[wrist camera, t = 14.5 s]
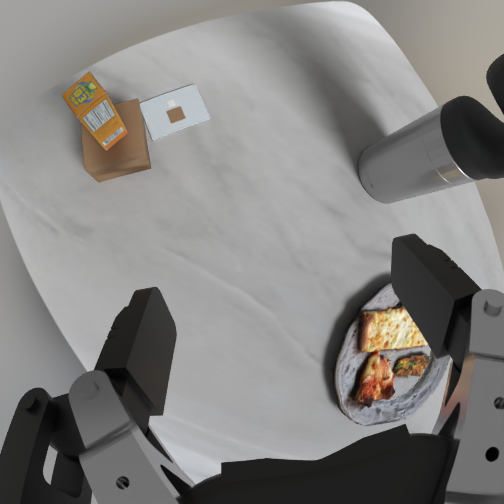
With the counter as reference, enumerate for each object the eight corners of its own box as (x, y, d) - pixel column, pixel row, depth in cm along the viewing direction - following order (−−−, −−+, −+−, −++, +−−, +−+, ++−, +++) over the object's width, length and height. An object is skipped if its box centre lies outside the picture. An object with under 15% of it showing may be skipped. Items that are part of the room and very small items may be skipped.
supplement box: (89, 134, 28) (59, 92, 18) (113, 114, 28) (92, 66, 18) (104, 154, 28) (76, 116, 18) (129, 134, 29) (111, 89, 19)
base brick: (143, 120, 35) (138, 98, 29) (151, 168, 35) (145, 152, 29) (93, 134, 33) (80, 114, 27) (98, 182, 33) (84, 169, 28)
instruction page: (194, 84, 36) (194, 83, 36) (210, 118, 36) (210, 117, 36) (138, 104, 34) (138, 103, 34) (152, 140, 35) (152, 139, 35)
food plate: (313, 425, 38) (323, 436, 35) (345, 271, 40) (359, 271, 37) (425, 409, 44) (437, 415, 41) (452, 290, 46) (466, 291, 42)
